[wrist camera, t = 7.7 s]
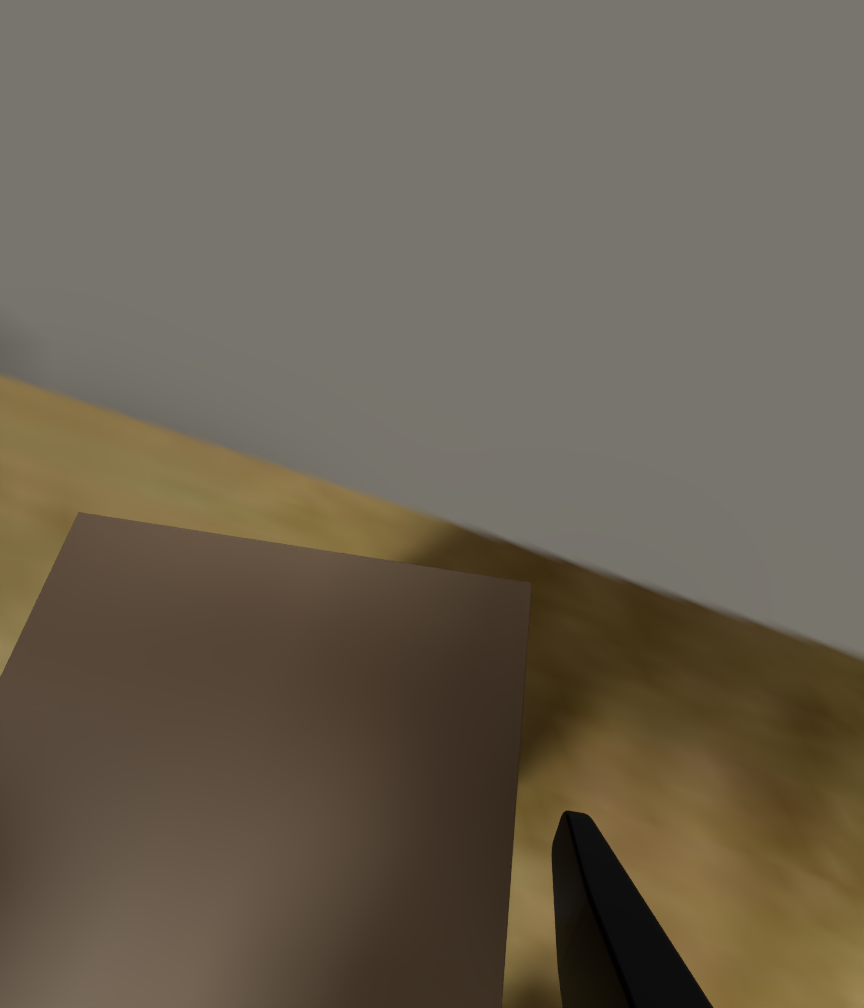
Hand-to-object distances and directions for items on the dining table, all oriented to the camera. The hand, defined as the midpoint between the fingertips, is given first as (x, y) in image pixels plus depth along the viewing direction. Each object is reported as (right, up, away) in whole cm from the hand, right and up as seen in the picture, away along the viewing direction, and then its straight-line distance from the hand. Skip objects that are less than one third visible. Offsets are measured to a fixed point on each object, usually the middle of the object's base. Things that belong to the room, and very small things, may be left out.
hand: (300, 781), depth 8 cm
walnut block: (0, -3, +8) cm, 8 cm away
